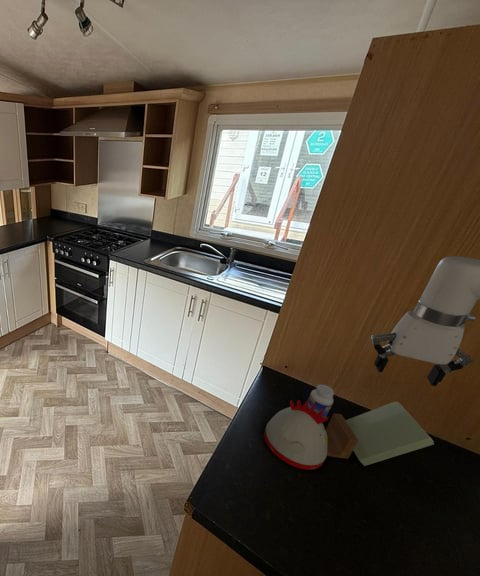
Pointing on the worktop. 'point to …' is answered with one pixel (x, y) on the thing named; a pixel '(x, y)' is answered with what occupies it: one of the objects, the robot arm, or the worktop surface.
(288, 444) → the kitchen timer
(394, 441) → the book
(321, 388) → the pill bottle
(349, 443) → the bookend
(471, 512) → the worktop surface
